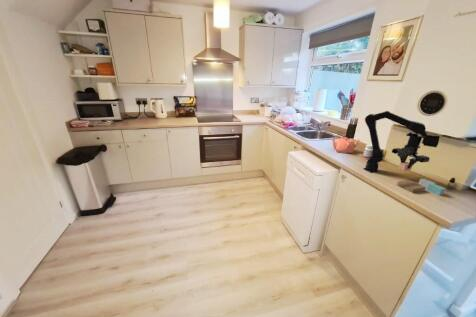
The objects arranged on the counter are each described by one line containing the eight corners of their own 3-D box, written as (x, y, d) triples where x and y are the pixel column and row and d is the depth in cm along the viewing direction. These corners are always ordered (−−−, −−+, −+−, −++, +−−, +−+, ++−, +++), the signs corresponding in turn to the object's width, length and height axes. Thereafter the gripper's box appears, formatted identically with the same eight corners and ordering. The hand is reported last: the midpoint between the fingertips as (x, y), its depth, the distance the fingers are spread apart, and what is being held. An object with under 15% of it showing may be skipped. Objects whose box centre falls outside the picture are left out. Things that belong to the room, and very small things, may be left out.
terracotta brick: (403, 170, 126) (405, 164, 124) (398, 168, 129) (400, 162, 127) (410, 169, 127) (412, 164, 126) (405, 167, 130) (407, 162, 129)
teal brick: (426, 190, 116) (429, 184, 114) (430, 189, 117) (433, 183, 115) (438, 195, 110) (441, 189, 109) (443, 194, 111) (446, 188, 110)
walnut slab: (396, 186, 120) (398, 181, 119) (407, 184, 123) (409, 180, 122) (412, 193, 112) (414, 188, 111) (424, 191, 114) (425, 187, 113)
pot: (339, 147, 191) (342, 134, 187) (358, 152, 178) (361, 138, 173) (327, 150, 182) (330, 136, 177) (346, 155, 168) (349, 141, 164)
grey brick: (417, 185, 122) (420, 179, 120) (422, 184, 122) (424, 178, 121) (429, 189, 116) (431, 183, 115) (433, 189, 117) (435, 183, 116)
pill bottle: (368, 157, 166) (371, 144, 162) (372, 160, 160) (376, 146, 156) (360, 157, 166) (364, 144, 162) (365, 159, 160) (368, 146, 156)
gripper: (388, 140, 128) (381, 163, 134) (420, 149, 112) (411, 174, 117) (401, 139, 131) (394, 161, 137) (434, 148, 115) (424, 173, 120)
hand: (405, 167), depth 128 cm, fingers closed on terracotta brick, 3 cm apart
